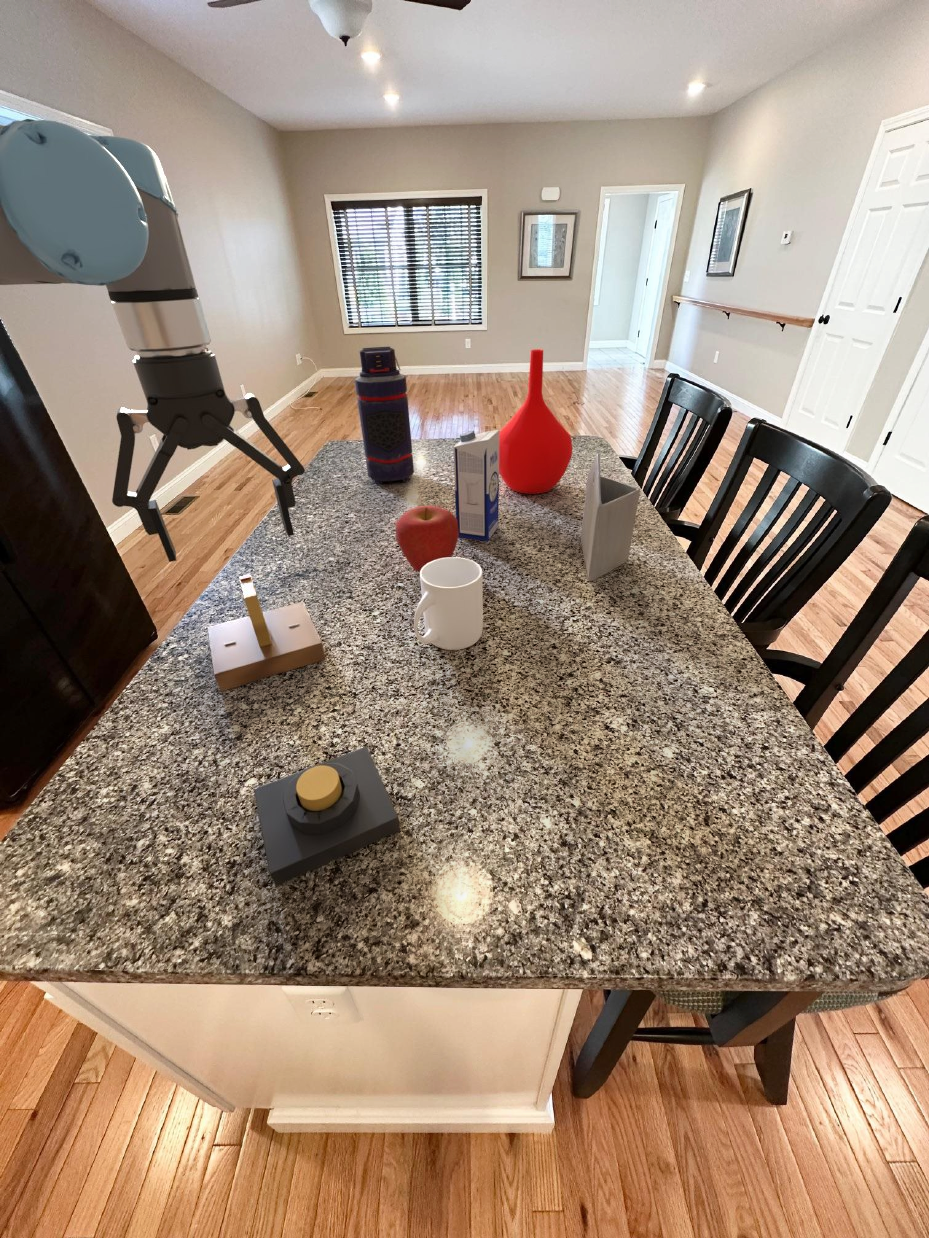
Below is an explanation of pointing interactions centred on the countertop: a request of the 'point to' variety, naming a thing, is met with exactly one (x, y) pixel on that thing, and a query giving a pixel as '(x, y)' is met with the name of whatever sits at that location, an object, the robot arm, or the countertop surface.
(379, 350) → the navy water bottle
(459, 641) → the mug
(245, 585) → the thumbturn
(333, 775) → the button
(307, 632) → the plate
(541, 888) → the countertop surface
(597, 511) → the planter
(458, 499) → the milk carton
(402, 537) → the apple
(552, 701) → the countertop surface
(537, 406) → the vase
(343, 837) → the push button housing
